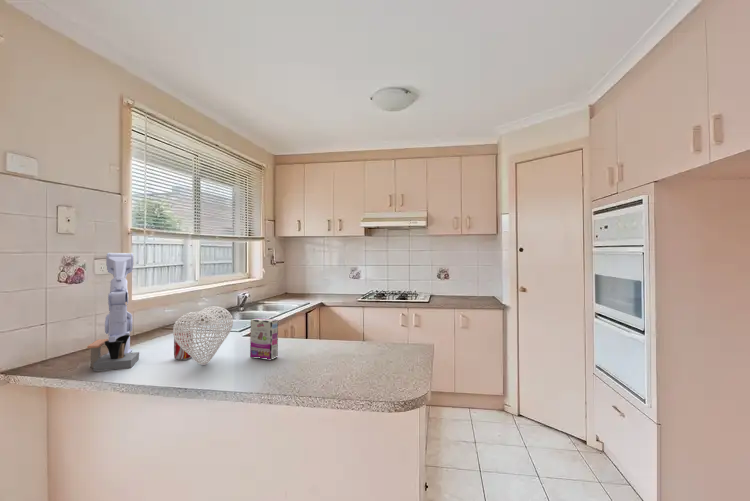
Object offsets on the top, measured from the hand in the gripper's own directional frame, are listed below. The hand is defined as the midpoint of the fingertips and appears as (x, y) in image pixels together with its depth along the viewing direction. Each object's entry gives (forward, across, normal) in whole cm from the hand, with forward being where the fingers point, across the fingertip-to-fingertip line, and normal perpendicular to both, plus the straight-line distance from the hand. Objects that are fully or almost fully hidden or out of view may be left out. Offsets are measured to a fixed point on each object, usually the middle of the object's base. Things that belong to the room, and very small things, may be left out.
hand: (117, 356), depth 146 cm
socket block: (+3, 0, +1) cm, 4 cm away
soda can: (+4, +2, -23) cm, 23 cm away
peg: (+3, 0, 0) cm, 3 cm away
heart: (+4, -10, -32) cm, 34 cm away
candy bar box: (+4, -7, -55) cm, 56 cm away
